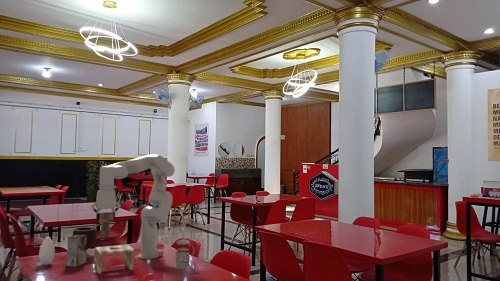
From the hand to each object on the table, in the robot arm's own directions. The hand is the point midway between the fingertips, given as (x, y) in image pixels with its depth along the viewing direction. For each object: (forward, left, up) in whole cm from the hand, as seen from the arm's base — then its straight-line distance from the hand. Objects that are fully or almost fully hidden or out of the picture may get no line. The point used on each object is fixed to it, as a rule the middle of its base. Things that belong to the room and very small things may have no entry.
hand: (105, 219), depth 212 cm
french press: (-42, +13, -27) cm, 52 cm away
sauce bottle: (+27, -23, -27) cm, 45 cm away
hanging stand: (-5, +1, -27) cm, 28 cm away
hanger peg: (0, 0, -10) cm, 10 cm away
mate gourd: (+5, -35, -27) cm, 45 cm away
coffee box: (+12, -17, -27) cm, 34 cm away
